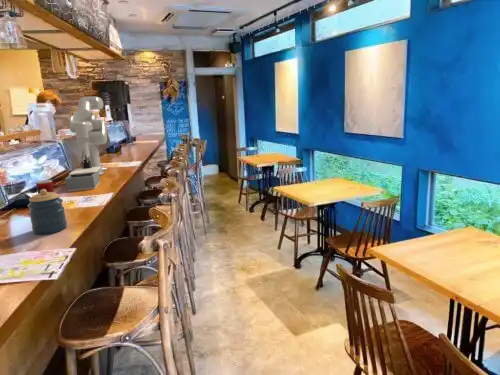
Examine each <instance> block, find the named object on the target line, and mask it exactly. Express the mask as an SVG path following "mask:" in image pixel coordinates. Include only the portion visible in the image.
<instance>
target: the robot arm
mask: <svg viewBox="0 0 500 375" xmlns="http://www.w3.org/2000/svg"><path fill="white" fill-rule="evenodd" d="M77 106H78V107H77V111H76V112H74V113H73V114H72V115H71V116H70V117H69V127H68V128H69V131H70V132H71V133H73V134H75V138H76V143H77V145H78V152H79V154H78V155H79V158H80V159H82V161H83V162H84V168H89V162H88V160H91V161H92V167H99V166H100V167H101V168H100V169H99V170H98V173H99V176H101V175H104V174H105V172H104V171H107V170H108V168H107V167H106V166H105V167H102V166H101V159H100V152H99V149H98V148H97V147H96V145H97V146H98V145H99V146H100V145H105V144H107V141H108V132H107V131H108V129H107V127H108V126H107V123H106V121H105V120H103V119H97V117H96V115H95V114H94V113H93V112H92V111H95V110H96V111H97V110H103V108H104V101H103V99H102V98H101V97H100V96H99V97H98V96H83V97H80V98H79V99H78V105H77Z"/></svg>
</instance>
